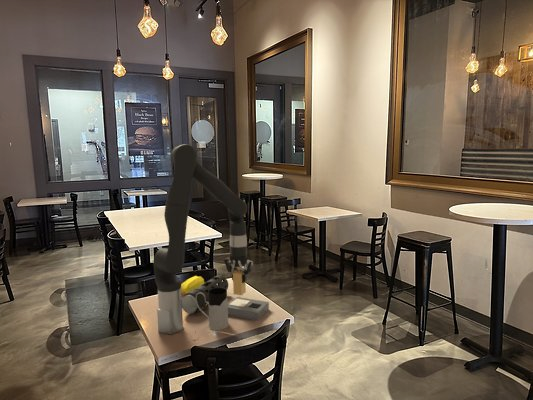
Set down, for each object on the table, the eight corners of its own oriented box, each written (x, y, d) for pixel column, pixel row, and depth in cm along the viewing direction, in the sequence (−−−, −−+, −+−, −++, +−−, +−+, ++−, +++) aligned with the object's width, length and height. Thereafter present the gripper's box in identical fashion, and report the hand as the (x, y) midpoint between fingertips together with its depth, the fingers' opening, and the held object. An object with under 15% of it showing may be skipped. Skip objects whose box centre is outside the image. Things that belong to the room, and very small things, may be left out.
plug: (241, 295, 167) (240, 271, 166) (233, 294, 169) (232, 270, 167) (245, 292, 171) (245, 268, 169) (237, 290, 173) (237, 267, 171)
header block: (257, 321, 161) (257, 312, 160) (224, 315, 167) (224, 306, 167) (268, 310, 172) (268, 301, 171) (237, 305, 178) (237, 296, 178)
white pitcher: (225, 331, 152) (224, 296, 150) (192, 328, 156) (190, 293, 154) (232, 322, 161) (231, 288, 159) (200, 319, 164) (199, 285, 162)
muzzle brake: (229, 295, 190) (228, 275, 189) (198, 318, 165) (197, 296, 163) (212, 292, 194) (212, 273, 192) (179, 315, 168) (179, 292, 167)
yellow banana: (175, 296, 190) (188, 298, 187) (175, 283, 189) (188, 285, 186) (195, 284, 206) (207, 286, 203) (195, 272, 205) (207, 274, 202)
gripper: (219, 244, 166) (221, 282, 169) (249, 248, 161) (250, 286, 163) (228, 240, 173) (229, 277, 175) (256, 243, 167) (257, 281, 170)
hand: (239, 281), depth 169 cm, fingers closed on plug, 4 cm apart
